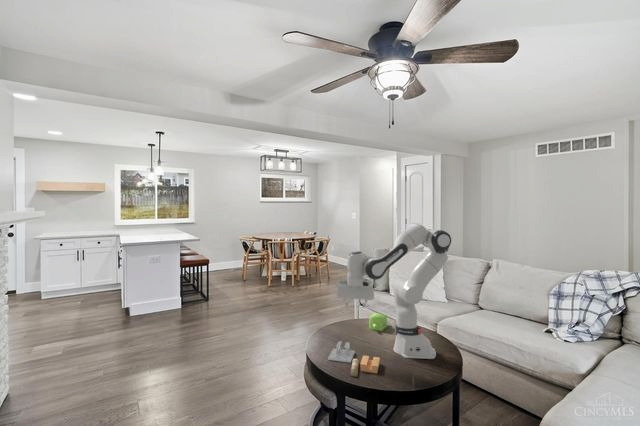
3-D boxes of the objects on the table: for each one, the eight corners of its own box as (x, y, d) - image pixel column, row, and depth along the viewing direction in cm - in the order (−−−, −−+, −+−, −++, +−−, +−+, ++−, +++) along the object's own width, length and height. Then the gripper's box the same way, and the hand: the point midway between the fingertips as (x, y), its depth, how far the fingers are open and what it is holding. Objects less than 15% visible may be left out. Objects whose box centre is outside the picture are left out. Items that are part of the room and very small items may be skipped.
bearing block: (354, 354, 176) (354, 343, 176) (350, 364, 164) (350, 352, 164) (333, 351, 179) (333, 340, 179) (328, 361, 168) (328, 349, 168)
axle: (356, 357, 165) (359, 362, 164) (351, 360, 165) (354, 365, 165) (355, 370, 151) (358, 376, 150) (349, 373, 151) (352, 379, 151)
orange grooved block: (379, 365, 163) (379, 357, 163) (377, 374, 154) (377, 366, 154) (363, 363, 166) (363, 355, 166) (360, 372, 156) (360, 364, 156)
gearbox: (381, 336, 202) (381, 321, 202) (366, 333, 207) (366, 318, 207) (390, 327, 218) (390, 313, 218) (376, 325, 223) (376, 311, 223)
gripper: (335, 281, 176) (335, 307, 176) (373, 283, 171) (373, 309, 171) (337, 279, 182) (337, 303, 182) (374, 281, 177) (374, 306, 177)
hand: (355, 306), depth 177 cm, fingers open, 8 cm apart
